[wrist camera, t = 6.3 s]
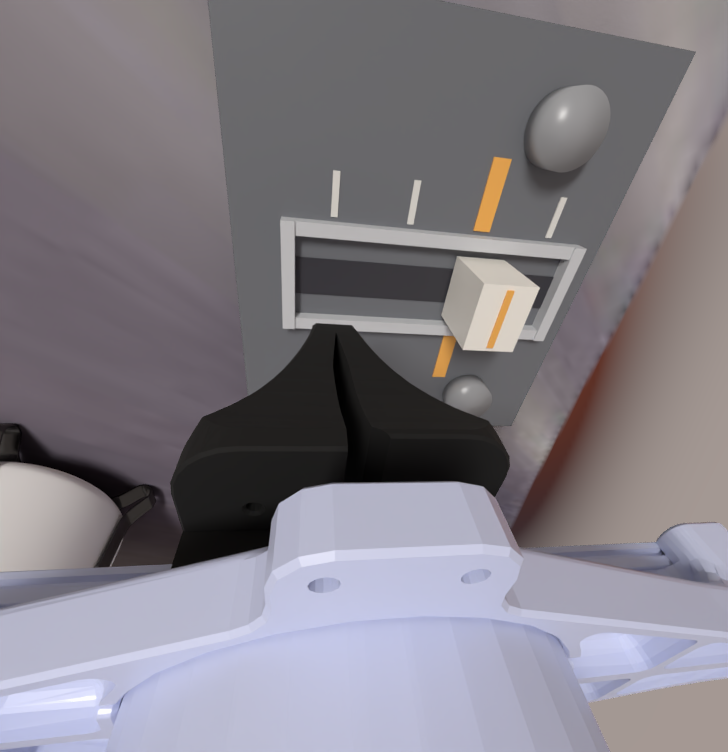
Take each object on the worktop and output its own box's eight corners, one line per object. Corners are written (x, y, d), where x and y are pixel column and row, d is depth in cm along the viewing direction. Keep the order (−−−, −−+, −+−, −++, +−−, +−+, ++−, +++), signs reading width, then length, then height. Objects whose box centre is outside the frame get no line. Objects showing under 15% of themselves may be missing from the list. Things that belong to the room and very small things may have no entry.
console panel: (502, 411, 26) (518, 438, 24) (253, 408, 24) (247, 437, 22) (665, 56, 15) (724, 46, 13) (214, -31, 12) (191, -63, 10)
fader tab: (484, 317, 19) (513, 353, 17) (441, 315, 19) (463, 350, 16) (504, 260, 18) (540, 288, 15) (457, 256, 17) (484, 284, 14)
